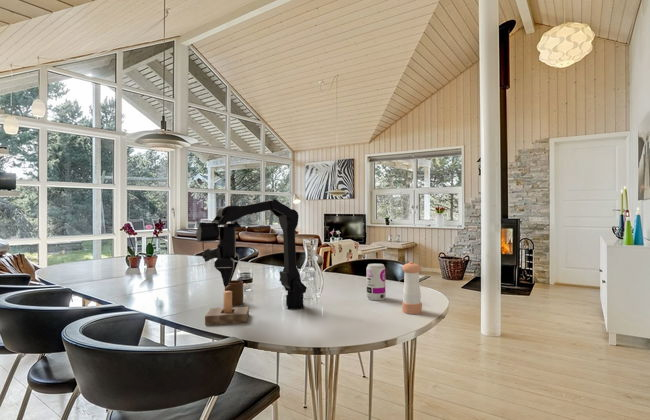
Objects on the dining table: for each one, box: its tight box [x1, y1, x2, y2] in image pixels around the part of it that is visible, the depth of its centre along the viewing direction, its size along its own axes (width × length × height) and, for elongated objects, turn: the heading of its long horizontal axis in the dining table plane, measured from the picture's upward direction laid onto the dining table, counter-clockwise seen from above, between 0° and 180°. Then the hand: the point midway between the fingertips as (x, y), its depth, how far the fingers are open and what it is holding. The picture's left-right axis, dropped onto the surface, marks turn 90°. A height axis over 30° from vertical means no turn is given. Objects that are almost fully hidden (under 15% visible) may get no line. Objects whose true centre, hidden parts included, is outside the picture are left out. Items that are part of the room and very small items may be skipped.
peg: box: [223, 290, 233, 313], centre depth 129 cm, size 3×3×10 cm
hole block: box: [204, 306, 250, 326], centre depth 129 cm, size 14×10×3 cm
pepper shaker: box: [401, 261, 423, 315], centre depth 137 cm, size 7×7×19 cm
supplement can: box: [365, 263, 387, 301], centre depth 158 cm, size 8×8×15 cm
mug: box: [224, 279, 244, 307], centre depth 149 cm, size 12×8×9 cm, turn 173°
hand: (227, 283), depth 129 cm, fingers open, 9 cm apart
